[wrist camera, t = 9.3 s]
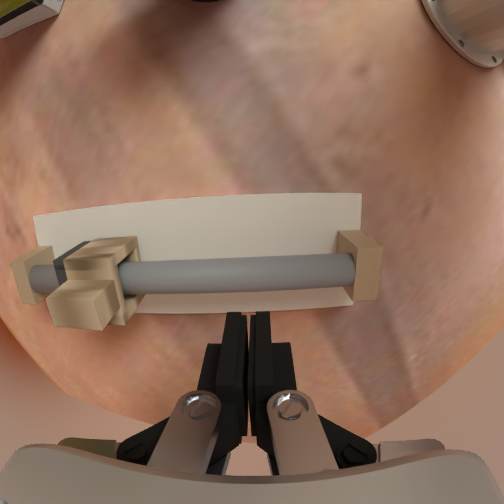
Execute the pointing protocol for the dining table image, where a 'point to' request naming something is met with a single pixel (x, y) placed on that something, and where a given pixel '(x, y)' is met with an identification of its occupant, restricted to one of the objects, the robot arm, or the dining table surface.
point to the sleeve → (95, 286)
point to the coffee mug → (204, 0)
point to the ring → (60, 265)
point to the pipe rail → (221, 252)
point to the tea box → (25, 13)
